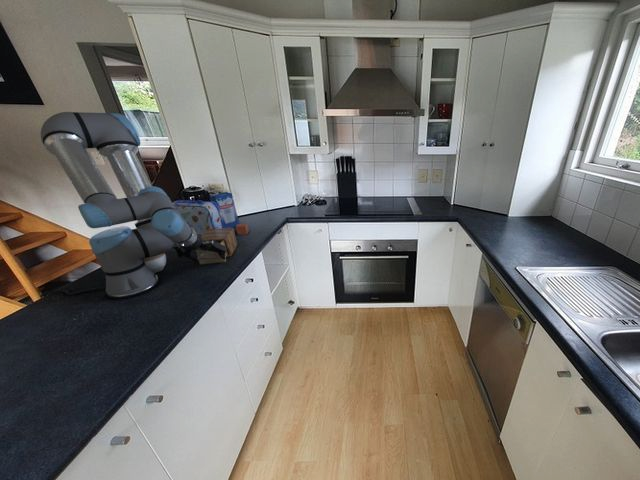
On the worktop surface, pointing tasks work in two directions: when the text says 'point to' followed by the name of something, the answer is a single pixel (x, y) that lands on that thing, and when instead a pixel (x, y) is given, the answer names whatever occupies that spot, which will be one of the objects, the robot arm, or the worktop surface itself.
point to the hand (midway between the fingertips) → (210, 257)
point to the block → (242, 229)
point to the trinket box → (156, 262)
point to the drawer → (211, 255)
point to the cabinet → (222, 237)
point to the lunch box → (200, 215)
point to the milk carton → (226, 208)
